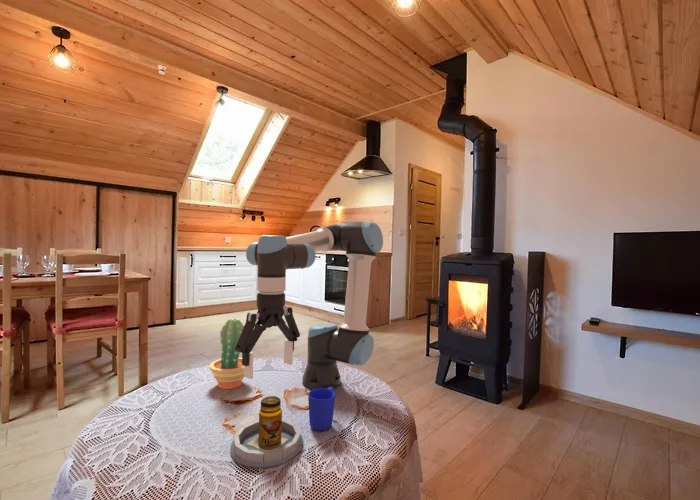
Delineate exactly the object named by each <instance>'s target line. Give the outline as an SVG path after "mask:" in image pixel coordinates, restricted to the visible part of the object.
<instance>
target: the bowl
mask: <svg viewBox="0 0 700 500" xmlns="http://www.w3.org/2000/svg"><path fill="white" fill-rule="evenodd" d="M257 436H259V419H258V420H257V419H256V420H253V421H252V422H249V423H246V424H245V425H242V426H241V427H240V428H239V429H238V431H237V432H236V433H235V434H234V435H233V441H232V442H231V445H230V455H231V458H232V459H233V461H235V462H236V463H237V464H239V465H241V466H243V467H247V468H251V469H252V468H253V469H267V468H272V467H278V466H281V465H283V464H285V463H288V462H290V461H291V460H293V459H294V458H296V457H297V456H298V455H299V454H300V453H301V450H302V449H303V446H304V445H303V442H304V441H303V440H304V439H303V436H302V434H301V431H300V429H299V427H298V425H297V424H296V423H294V422H292V421H290V420H287V419H286V418H285V419H283V418H282V432H281V437H283V438H286V439H288V440H287V441H286V442H285V443H284V444H282V445H281V446H280V447H279V448H278V449H274V450H269V451H263V450H260V449H258V448H256V447H253V446H250V445H247V443H249V442H250V441H252V440H253V439H255V438H256V437H257Z"/></svg>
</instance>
